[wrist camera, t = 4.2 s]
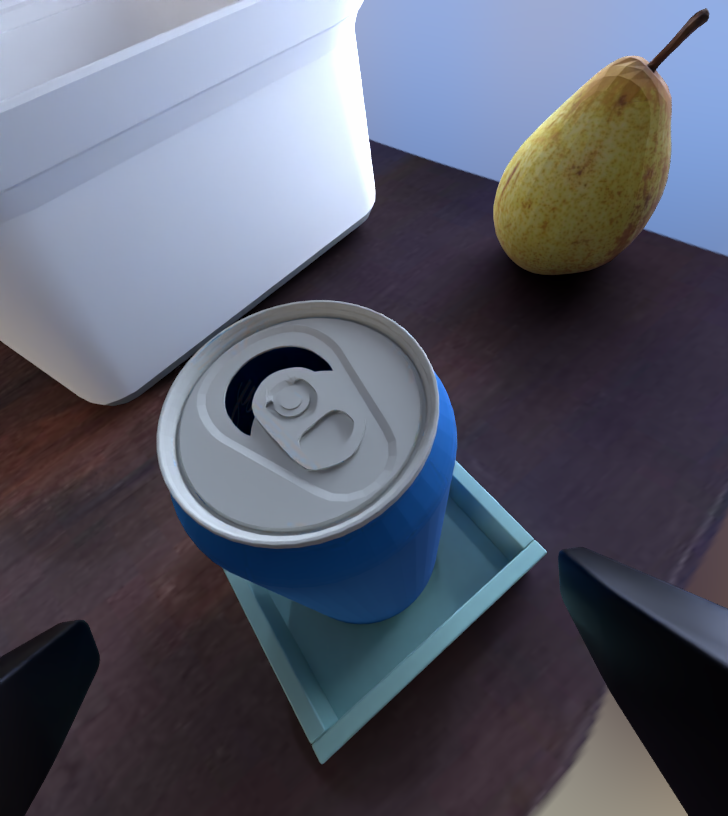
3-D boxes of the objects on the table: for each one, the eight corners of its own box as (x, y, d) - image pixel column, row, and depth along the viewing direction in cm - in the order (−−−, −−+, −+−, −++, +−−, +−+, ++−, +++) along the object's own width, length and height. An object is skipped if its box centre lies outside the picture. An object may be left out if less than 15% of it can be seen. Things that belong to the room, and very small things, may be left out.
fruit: (460, 257, 28) (486, 32, 18) (542, 200, 30) (606, -26, 20) (568, 319, 24) (680, 73, 14) (652, 247, 26) (800, -7, 16)
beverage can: (367, 453, 20) (318, 251, 10) (466, 545, 17) (536, 392, 7) (266, 543, 18) (83, 406, 8) (359, 664, 15) (251, 681, 5)
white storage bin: (233, 124, 44) (162, -83, 32) (444, 198, 32) (461, -91, 20) (-83, 299, 33) (-386, 82, 20) (58, 518, 21) (-482, 308, 8)
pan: (529, 566, 17) (548, 552, 15) (336, 748, 14) (320, 766, 12) (383, 412, 22) (378, 383, 19) (220, 528, 19) (193, 510, 17)
